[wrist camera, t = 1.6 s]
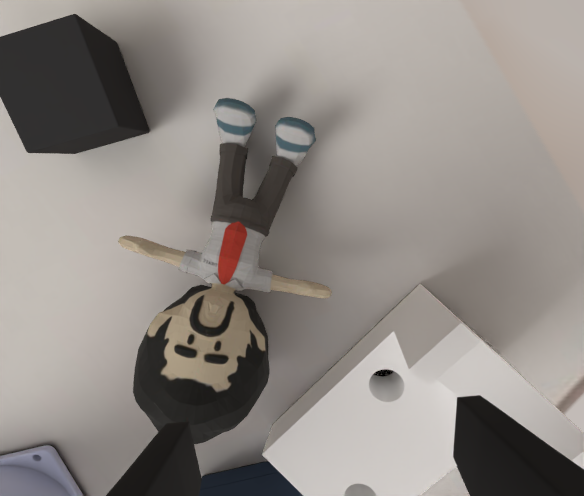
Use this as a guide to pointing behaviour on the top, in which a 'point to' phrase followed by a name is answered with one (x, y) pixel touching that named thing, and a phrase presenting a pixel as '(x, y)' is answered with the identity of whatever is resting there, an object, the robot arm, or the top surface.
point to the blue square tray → (248, 482)
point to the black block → (67, 88)
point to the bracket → (404, 408)
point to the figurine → (221, 292)
